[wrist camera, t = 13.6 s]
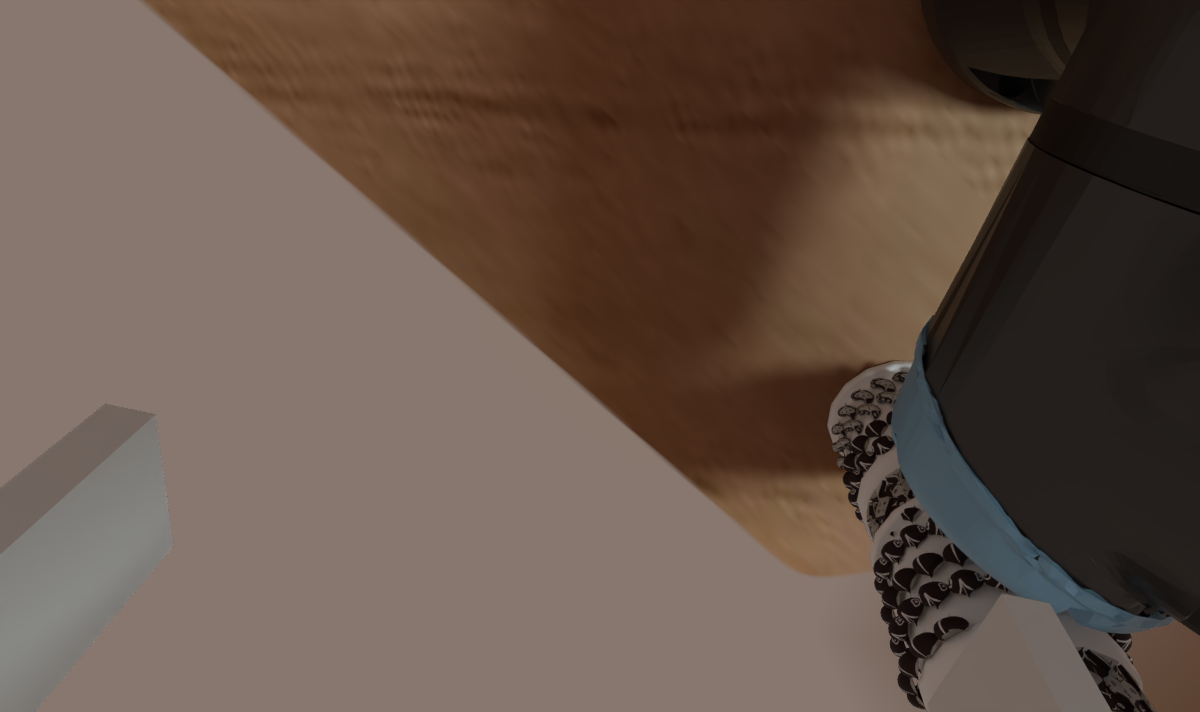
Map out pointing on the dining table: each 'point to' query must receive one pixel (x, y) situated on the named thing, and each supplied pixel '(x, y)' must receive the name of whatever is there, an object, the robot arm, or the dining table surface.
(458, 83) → the dining table surface
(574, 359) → the dining table surface
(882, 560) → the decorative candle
